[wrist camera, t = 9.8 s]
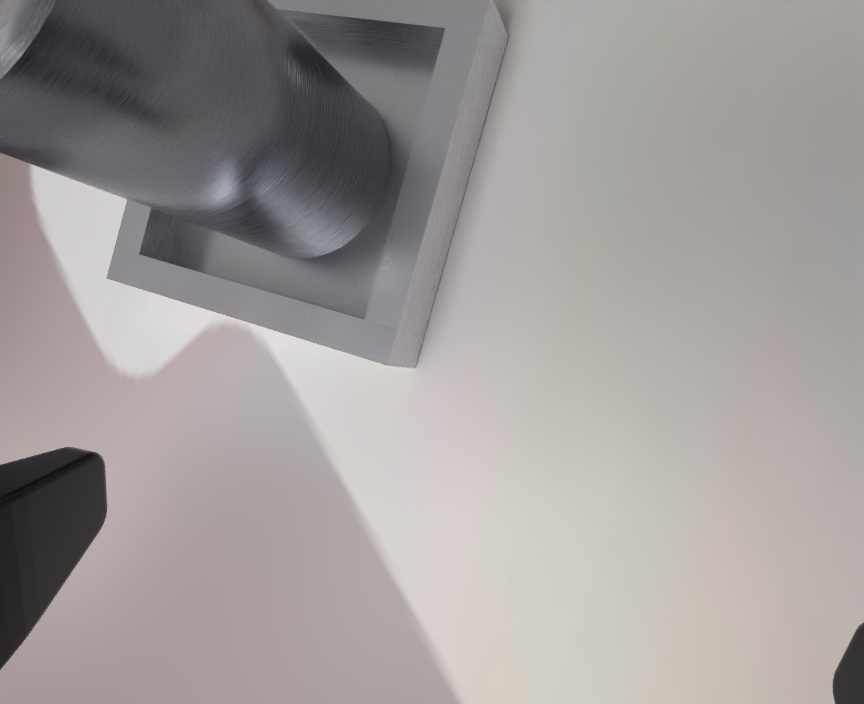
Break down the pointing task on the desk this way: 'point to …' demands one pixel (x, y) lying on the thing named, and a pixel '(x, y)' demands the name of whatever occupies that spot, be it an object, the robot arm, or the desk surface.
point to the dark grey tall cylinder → (194, 116)
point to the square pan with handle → (401, 203)
